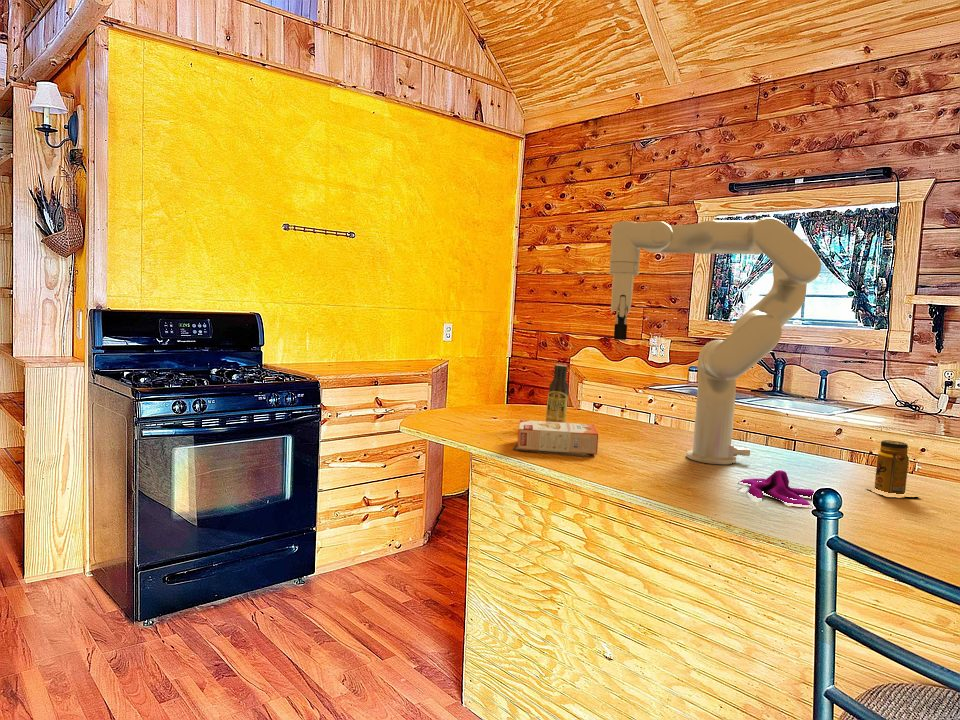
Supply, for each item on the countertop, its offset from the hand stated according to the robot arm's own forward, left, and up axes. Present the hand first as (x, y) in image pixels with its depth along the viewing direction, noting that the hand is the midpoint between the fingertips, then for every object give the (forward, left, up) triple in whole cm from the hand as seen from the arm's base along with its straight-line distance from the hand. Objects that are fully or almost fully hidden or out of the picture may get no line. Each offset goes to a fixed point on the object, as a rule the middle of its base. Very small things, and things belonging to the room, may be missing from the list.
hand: (620, 339), depth 183 cm
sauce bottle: (+17, -28, -31) cm, 45 cm away
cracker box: (+4, 0, -27) cm, 27 cm away
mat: (+16, 0, -30) cm, 34 cm away
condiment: (-63, +18, -31) cm, 72 cm away
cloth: (-35, +29, -31) cm, 55 cm away
